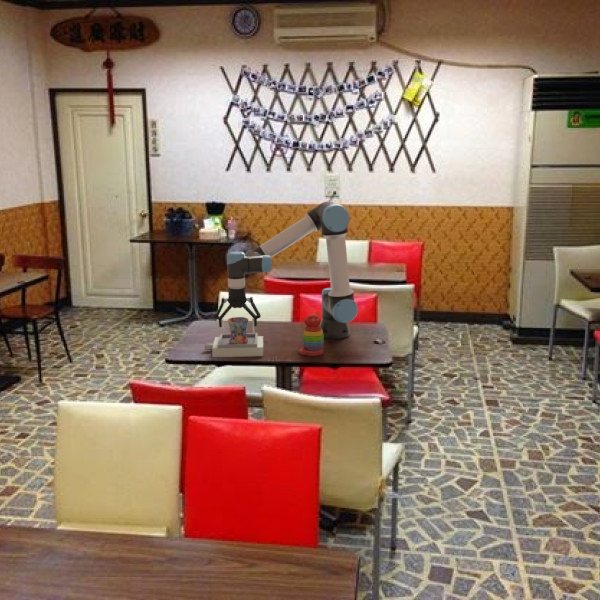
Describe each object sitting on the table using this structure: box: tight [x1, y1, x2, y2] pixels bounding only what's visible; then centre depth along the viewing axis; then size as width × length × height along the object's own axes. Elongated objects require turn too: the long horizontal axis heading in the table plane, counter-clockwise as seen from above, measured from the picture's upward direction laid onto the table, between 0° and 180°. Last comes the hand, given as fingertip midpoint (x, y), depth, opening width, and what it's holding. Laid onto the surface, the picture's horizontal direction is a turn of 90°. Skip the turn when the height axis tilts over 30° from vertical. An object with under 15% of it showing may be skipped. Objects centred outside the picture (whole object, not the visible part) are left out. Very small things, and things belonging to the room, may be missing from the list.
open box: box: [204, 332, 264, 358], centre depth 299 cm, size 26×17×6 cm, turn 93°
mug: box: [227, 316, 249, 344], centre depth 298 cm, size 12×9×11 cm
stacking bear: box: [297, 312, 325, 356], centre depth 294 cm, size 11×10×18 cm
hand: (238, 333), depth 298 cm, fingers open, 13 cm apart
